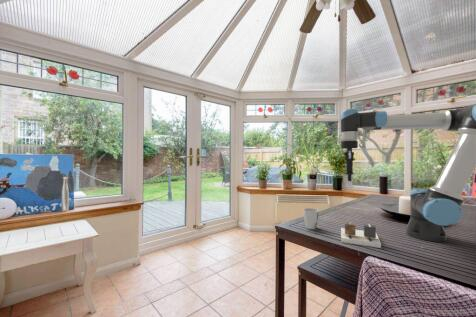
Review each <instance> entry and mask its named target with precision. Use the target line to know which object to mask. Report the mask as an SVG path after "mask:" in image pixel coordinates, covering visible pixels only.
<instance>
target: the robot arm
mask: <svg viewBox="0 0 476 317" xmlns="http://www.w3.org/2000/svg"><path fill="white" fill-rule="evenodd" d="M340 112H341V113H340V133H339V137H340V140H341V141H340V149H342V150H343V149H345V150H346V151H345V152H344V157H345V162H346V169H345V173H344V174H345V175H346V176H345V178H346V188H353V187H354V185H353V182H354V180H353V178H354V177H353V175H354V174H355V173H354V171H353V170H354V169H353V168H354V167H353V166H354V165H353V164H354V162H353V161H354V155H355V151H353V149H358V145H359V142H358V139H359V131H358V130H359V129H362V130H363V131H365V132H366V131H367V132H371V131H379V130H380V131H385V130H386V131H387V130H388V131H389V130H391V131H392V130H394V131H395V130H433V129H434V130H436V129H437V130H438V129H441V130H443V131H446V132H448V131H451V132H452V131H454V132H455V131H456V132H459V134H460V136H458V139H457V141H456V143H455V145H454V147H453V149H452V151H451V153H450V154H449V157H448V159H447V161H446V162H445V165H444V167H443V168H442V170H441V172H440V174H439V177H438V178H437V181H436V182H435V184H434V185H433V186H430V187H428V188H427V189H413V188H412V190H410V194H409V197H410V198H409V200H410V208H409V209H410V211H409V212H410V218H409V221H408V223H407V225H406V228H405V233H406V234H407V235H409V236H411V237H413V238H415V239H418V240H423V241H429V242H437V243H441V242H442V243H443V242H446V241H448V238H447V237H448V236H447V235H448V234H447V232H446V230H445V228H444V227H445V226H447V227H448V226H453V225H454V224H456V223H458V222H459V221H461V219H462V217H463V211H462V210H463V209H462V204H463V202H464V201H465V199H464V198H463V196H462V194H463V192H464V190H465V188H466V186H467V184H468V182H469V181H470V178H471V177H472V175H473V173H474V171H475V169H476V103H474V104H471V105H468V106H465V107H461V108H456V109H445V111H443V112H429V113H426V112H424V113H406V114H405V113H404V114H402V113H401V114H388V113H387V112H386V110H381V111H379V110H376V111H369V112H368V111H367V112H366V111H365V112H359V110H358V109H357V108H347V109H343V110H342V111H340Z"/></svg>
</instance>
